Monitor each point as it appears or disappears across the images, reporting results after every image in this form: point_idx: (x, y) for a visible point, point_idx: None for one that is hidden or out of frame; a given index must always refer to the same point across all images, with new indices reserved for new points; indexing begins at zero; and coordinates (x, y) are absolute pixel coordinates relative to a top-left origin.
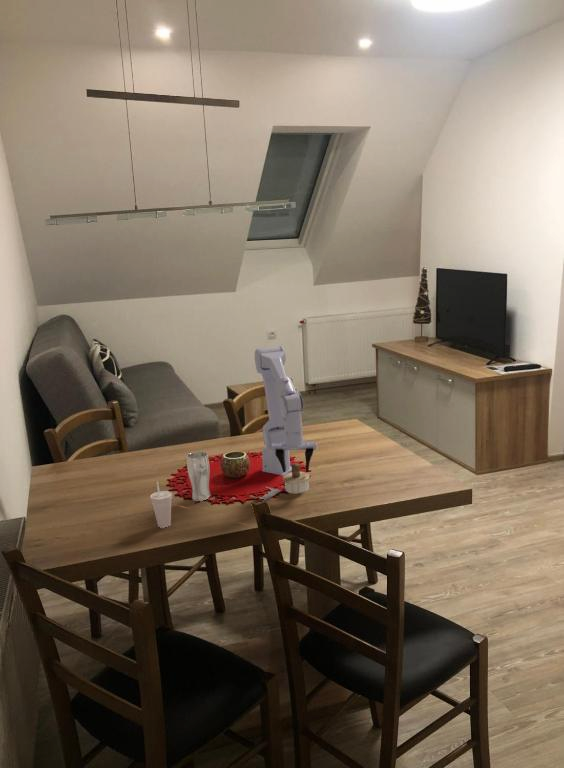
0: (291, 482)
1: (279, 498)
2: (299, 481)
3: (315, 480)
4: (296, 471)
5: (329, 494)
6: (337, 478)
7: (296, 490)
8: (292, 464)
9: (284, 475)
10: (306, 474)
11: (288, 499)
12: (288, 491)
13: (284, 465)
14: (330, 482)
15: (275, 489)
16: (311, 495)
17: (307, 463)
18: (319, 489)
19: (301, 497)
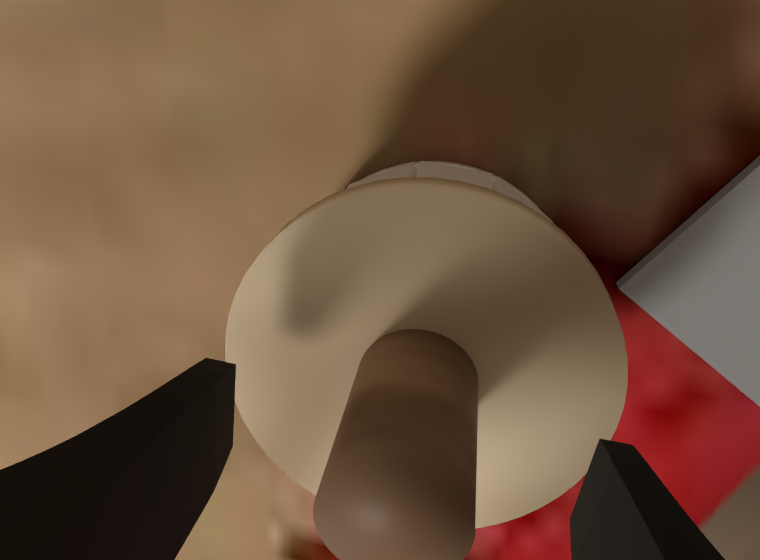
0: (511, 205)
1: (695, 77)
2: (377, 190)
3: (235, 464)
4: (396, 388)
5: (63, 81)
6: (39, 452)
7: (445, 176)
8: (450, 548)
9: (588, 452)
10: (266, 405)
11: (576, 17)
12: (548, 219)
13: (626, 544)
14: (90, 386)
15: (695, 335)
16: (270, 94)
17: (117, 434)
18: (185, 247)
19: (395, 54)
